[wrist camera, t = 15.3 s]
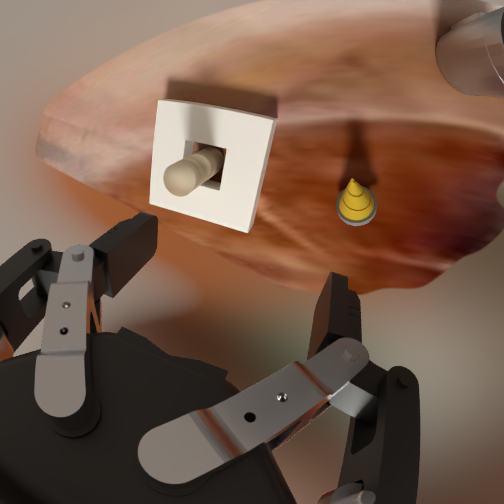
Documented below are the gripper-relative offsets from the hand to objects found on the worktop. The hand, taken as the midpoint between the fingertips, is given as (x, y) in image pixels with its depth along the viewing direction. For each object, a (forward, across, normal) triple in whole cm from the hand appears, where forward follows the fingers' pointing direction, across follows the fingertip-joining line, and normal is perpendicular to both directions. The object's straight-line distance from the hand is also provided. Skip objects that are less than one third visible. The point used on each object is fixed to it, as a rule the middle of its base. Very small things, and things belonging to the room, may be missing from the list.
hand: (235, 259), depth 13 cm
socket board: (+28, +12, +5) cm, 31 cm away
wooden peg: (+28, +12, +5) cm, 31 cm away
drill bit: (+28, -8, +4) cm, 30 cm away
